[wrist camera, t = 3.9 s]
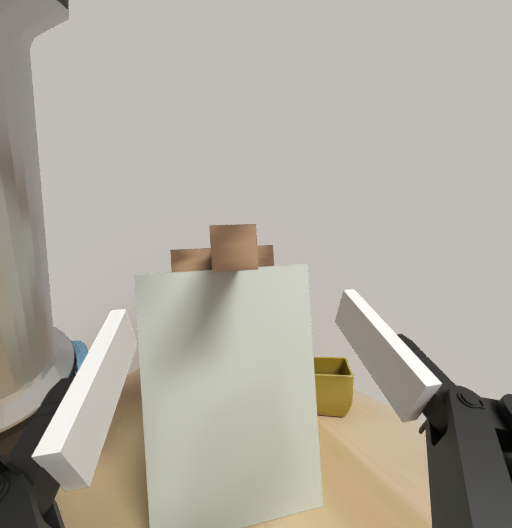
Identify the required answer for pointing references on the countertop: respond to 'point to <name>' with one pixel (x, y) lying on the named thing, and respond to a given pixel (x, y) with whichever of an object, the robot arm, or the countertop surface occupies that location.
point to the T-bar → (225, 251)
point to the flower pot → (333, 386)
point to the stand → (228, 396)
